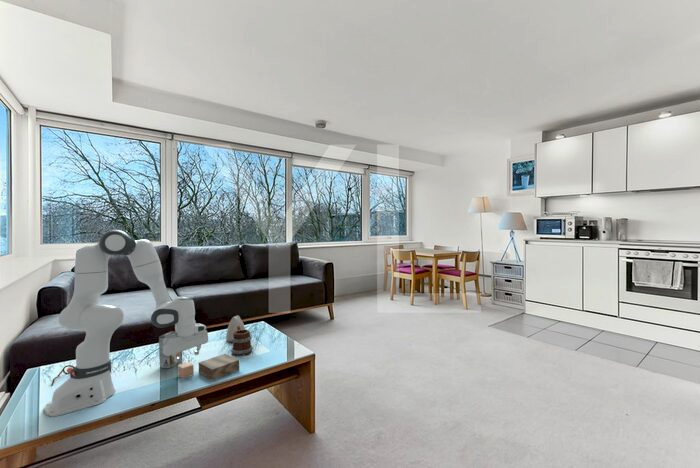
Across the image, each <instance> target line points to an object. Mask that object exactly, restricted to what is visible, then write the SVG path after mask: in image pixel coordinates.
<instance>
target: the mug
mask: <svg viewBox="0 0 700 468" xmlns="http://www.w3.org/2000/svg"><path fill="white" fill-rule="evenodd" d="M252 338H253V337H252V335H251V332H250V330H249V329H245V330H240V326H237V331H235V332H234V333H233V337H232V342H231V343H232V347H231V350H230V352H231V355H233V356H236V357H243V356H247V355H250V354H251V353H252V351H253V348H254V347H253V345H252V343H251V342H252V341H251V340H252Z"/></svg>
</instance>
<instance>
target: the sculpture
mask: <svg viewBox="0 0 700 468" xmlns="http://www.w3.org/2000/svg"><path fill="white" fill-rule="evenodd" d="M237 326H240V330H246V327H245V325H244V322H243V321H242V318H241V317H240V315H235V316H233V317H231V319H230V320H229V323H228V326H227V330H226V331H227V332H226V336H225V337H226V338H225V339H226V342H229V343H233V342H232V337H233V333H234V332H235V331H237Z"/></svg>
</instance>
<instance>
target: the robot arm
mask: <svg viewBox="0 0 700 468" xmlns="http://www.w3.org/2000/svg"><path fill="white" fill-rule="evenodd" d="M112 256H126V257H127V258H128V260H129V262H130V265H131V268H132V271H133V273H134V275H135V277H136V278H137V280H138V281H139V282H141V283H143V284H145V285H146V286H148V287H149V289H150V291H151V293H152V295H153V298H154V300H155V309H154V310H153V313H152V314H151V316H150V321H151V324H152V325H153V326H155V327H156V328H161V329H163V328H168V327H171V326H174V331H175V333H173V334H171V335H167V336H166V337H164V339H163V354H164V355H166V356H170V355H172V356H173V357H174V358H175V362H179V361H180V360H179V357H176V356H175V355H177V353H179V352H182V353H183V352H185V351H187V350H190V349H193V348H196V349H195V350H194V351H193V352H194V355H195V356H198V355H199V354H200V350H201V349H202V345H205V344H207V343H208V342H209V333H208V330H207V326H206V325H205V324H203V323H197V322H196V320H195V317H196V316H195V315H196V309H195V302H194V300H193V298H192V297H190V296H185V295H184V296H183V295H182V296H176V297H175V298H174V299H172V297H171V296H170V294H169V291H168V288H167V286H166V283H165V282H166V281H165V280H164V273H163V267H162V264H161V262H162V261H161V260H160V258H159V255H158V252H157V250H156V248H155V246H154V244H153V243H152V242H151V241H150V240H149V239H137V240H135V239H133V238H132V237H131V236H130V235H129V234H128V233H127V232H125V231H124V230H122V229H110V230H108V231H106V232H105V233H103V234H102V235H101V236H100V239H99V241H98V242H97V244H94V245H93V244H92V245H86V246H83V247H81V248H79V249H78V251H77V252H76V257H75V261H74V263H75V264H74V286H73V288H74V289H73V294H72V297H71V300H70V302H69V303H68V305H67V306H66V307H64V308H63V310H61V311H60V314H59V316H58V323H59V325H60V327H61V328H64V329H66V330H70V331H74V332H76V331H77V332H85V337H84V340H83V341H82V342H81V343H79V344H78V345H77V346H76V349H75V361H76V362H75V366H74V368H72V367H67V369H66V373H70V374H69V378H68V379H66V380H65V381H64V382H63V383H62V384H61V385H59V386H58V387H57V388H56V389H55V390H54V392H53V394H52V397H51V401H49V402H47V403H46V404H45V406H44V413H45V415H47V416H49V417H58V416H62V415H65V414H69V413H73V412H75V411H76V412H77V411H79V410H82V409H86V408H90V407H92V406H96V405H99V404H103V403H104V402H105V401H106V400H107V399H108V398H110V397H111V396H113V395H114V394H115V393H116V388H115V386H114V383H113V380H112V379H113V378H112V360H111V358H110V345H111V344H110V342H111V339H112V336H113V334H114V333H115V331H116V330H117V329H118V328H119V327H120V326H121V325H122V324H123V322H124V319H125V316H124V311H123V310H122V308H120V307H119V306H116V305H110V304H98V303H99V299H100V297H101V295H103V294H104V293H106V292H107V290H108V288H109V267H108V266H109V265H108V264H109V260H110V258H111V257H112Z"/></svg>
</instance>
